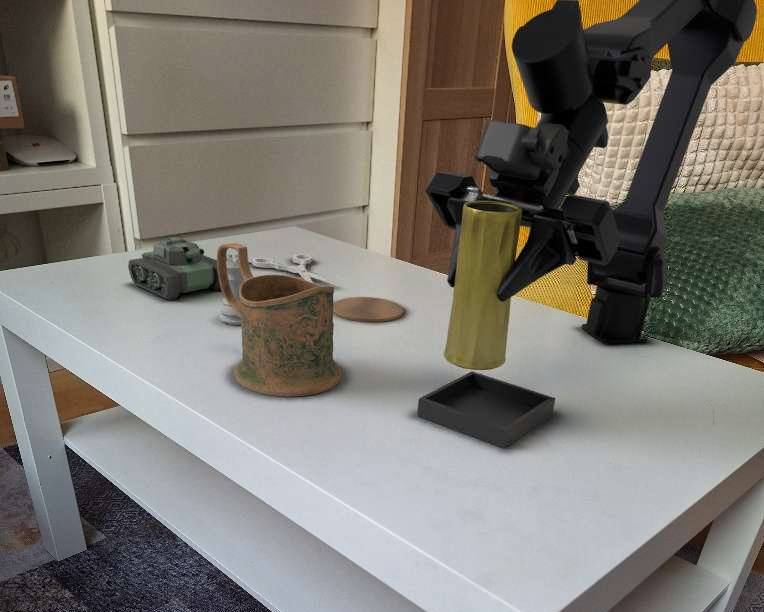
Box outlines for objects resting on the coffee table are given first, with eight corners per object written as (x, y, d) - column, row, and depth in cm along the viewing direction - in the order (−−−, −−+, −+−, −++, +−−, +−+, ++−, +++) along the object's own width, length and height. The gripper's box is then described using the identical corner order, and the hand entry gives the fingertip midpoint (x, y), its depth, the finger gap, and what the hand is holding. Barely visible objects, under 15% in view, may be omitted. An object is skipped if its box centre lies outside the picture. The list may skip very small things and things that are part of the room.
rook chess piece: (212, 322, 93) (207, 257, 89) (231, 312, 97) (227, 250, 93) (243, 328, 92) (239, 263, 88) (261, 318, 96) (259, 255, 91)
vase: (486, 376, 69) (507, 217, 62) (431, 359, 72) (445, 205, 64) (516, 358, 74) (539, 207, 66) (463, 343, 76) (479, 196, 69)
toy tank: (188, 272, 111) (184, 224, 108) (236, 291, 105) (233, 241, 101) (126, 283, 105) (120, 233, 101) (173, 305, 98) (168, 251, 94)
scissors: (302, 251, 123) (361, 282, 108) (302, 256, 123) (361, 287, 109) (242, 256, 118) (296, 289, 104) (242, 261, 118) (296, 295, 104)
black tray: (469, 387, 80) (471, 370, 79) (552, 415, 75) (555, 398, 74) (416, 415, 74) (418, 398, 72) (504, 448, 69) (507, 430, 68)
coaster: (391, 298, 106) (391, 296, 106) (412, 320, 98) (412, 317, 98) (325, 301, 103) (326, 298, 103) (342, 323, 96) (342, 320, 95)
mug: (265, 333, 91) (262, 232, 84) (362, 378, 81) (367, 267, 74) (183, 354, 84) (172, 245, 77) (279, 406, 74) (276, 285, 67)
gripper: (446, 74, 67) (360, 216, 66) (635, 92, 57) (538, 260, 56) (485, 161, 77) (410, 287, 76) (653, 190, 67) (570, 335, 66)
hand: (474, 291), depth 68 cm, fingers closed on vase, 5 cm apart
